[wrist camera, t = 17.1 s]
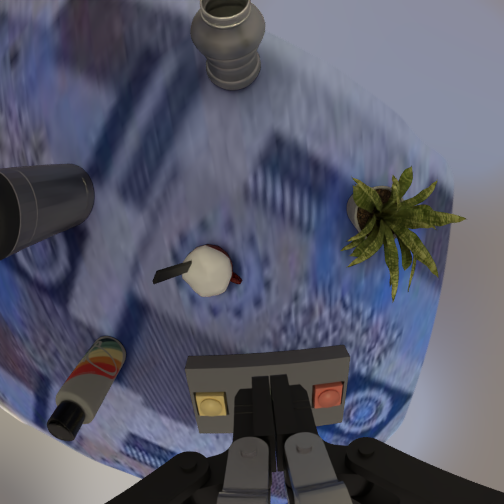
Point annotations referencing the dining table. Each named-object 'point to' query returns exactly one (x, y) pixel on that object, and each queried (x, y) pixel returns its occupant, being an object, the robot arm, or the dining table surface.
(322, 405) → the red button
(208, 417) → the panel
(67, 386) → the lotion bottle
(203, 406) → the ochre button
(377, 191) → the house plant
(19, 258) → the dining table surface
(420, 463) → the robot arm
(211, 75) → the plastic bottle
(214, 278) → the cocoa
